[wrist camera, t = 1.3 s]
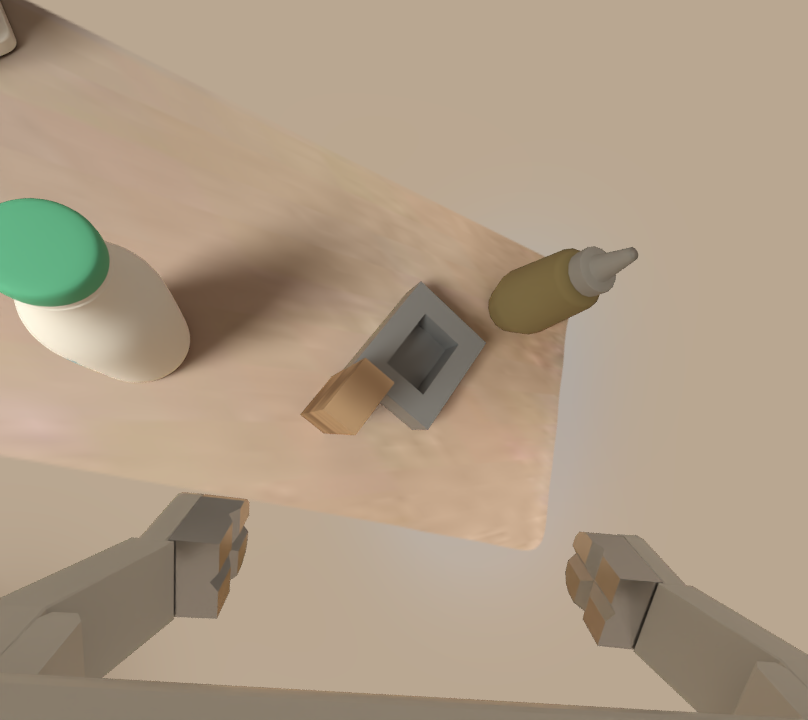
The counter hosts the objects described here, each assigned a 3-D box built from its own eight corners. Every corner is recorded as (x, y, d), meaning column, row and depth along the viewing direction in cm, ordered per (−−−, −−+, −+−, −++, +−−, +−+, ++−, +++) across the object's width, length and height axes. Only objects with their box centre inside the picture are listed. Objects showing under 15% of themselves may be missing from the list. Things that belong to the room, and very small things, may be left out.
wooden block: (323, 433, 40) (355, 435, 29) (300, 414, 39) (323, 409, 28) (354, 394, 41) (394, 382, 30) (332, 376, 41) (365, 357, 30)
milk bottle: (195, 304, 37) (151, 184, 19) (186, 386, 36) (130, 342, 17) (95, 293, 34) (-71, 138, 16) (82, 381, 33) (-117, 323, 15)
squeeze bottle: (527, 281, 53) (657, 216, 37) (535, 340, 52) (671, 300, 35) (476, 277, 50) (592, 204, 33) (483, 340, 49) (606, 295, 32)
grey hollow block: (412, 429, 43) (427, 429, 40) (342, 370, 41) (352, 365, 38) (467, 349, 48) (486, 343, 44) (406, 293, 46) (421, 281, 42)
